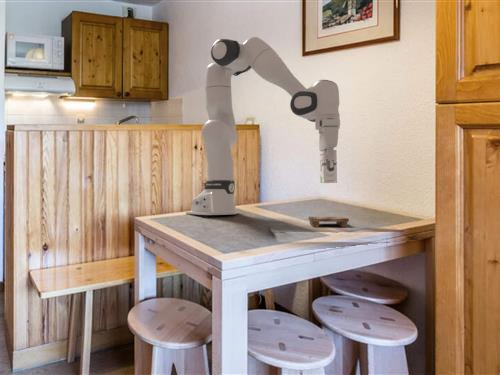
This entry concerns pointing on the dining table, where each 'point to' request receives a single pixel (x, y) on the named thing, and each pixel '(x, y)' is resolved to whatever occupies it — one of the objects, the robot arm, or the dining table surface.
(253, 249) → the dining table surface
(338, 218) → the stand
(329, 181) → the ink box
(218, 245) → the dining table surface
